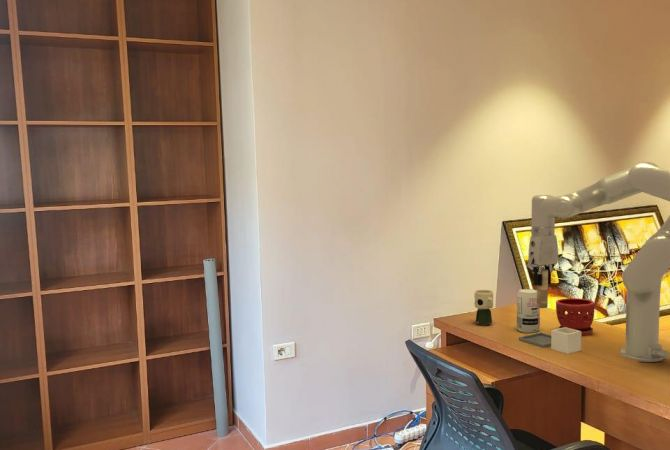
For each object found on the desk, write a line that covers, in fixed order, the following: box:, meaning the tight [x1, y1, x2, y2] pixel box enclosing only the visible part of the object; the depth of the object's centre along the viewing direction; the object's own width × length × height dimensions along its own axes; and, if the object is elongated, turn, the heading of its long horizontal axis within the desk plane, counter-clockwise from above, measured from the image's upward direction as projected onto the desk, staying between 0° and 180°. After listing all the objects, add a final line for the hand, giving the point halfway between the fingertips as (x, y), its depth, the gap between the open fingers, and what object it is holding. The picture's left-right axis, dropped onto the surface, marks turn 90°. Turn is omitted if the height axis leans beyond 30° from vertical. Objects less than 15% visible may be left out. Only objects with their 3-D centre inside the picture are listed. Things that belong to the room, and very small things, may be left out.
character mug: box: [473, 289, 494, 326], centre depth 245 cm, size 11×7×13 cm, turn 22°
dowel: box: [536, 268, 549, 309], centre depth 217 cm, size 4×4×13 cm
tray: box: [518, 332, 551, 349], centre depth 219 cm, size 11×11×2 cm
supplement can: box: [516, 288, 541, 334], centre depth 234 cm, size 8×8×15 cm
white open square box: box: [550, 327, 582, 355], centre depth 208 cm, size 7×7×7 cm
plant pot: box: [555, 297, 595, 337], centre depth 229 cm, size 13×13×12 cm
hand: (542, 283), depth 217 cm, fingers closed on dowel, 3 cm apart
